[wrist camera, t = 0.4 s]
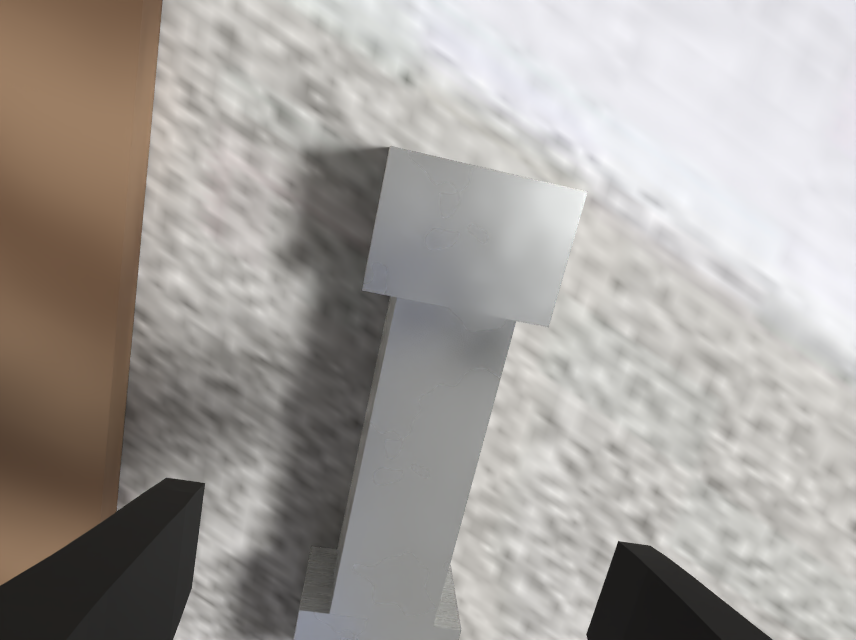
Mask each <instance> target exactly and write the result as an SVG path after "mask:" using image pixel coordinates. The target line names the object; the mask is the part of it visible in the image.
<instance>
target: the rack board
mask: <svg viewBox="0 0 856 640" xmlns="http://www.w3.org/2000/svg"><path fill="white" fill-rule="evenodd" d="M161 11H162V0H0V585H2V584H4V583H5V582H7V581H9V580H10V579H12V578H14V577H15V576H17V575H19V574H20V573H22V572H24V571H25V570H27V569H29V568H30V567H32V566H34V565H35V564H37V563H39V562H40V561H42V560H44V559H45V558H47V557H49V556H50V555H52V554H54V553H55V552H57V551H58V550H60V549H61V548H63V547H64V546H66V545H68V544H69V543H71V542H72V541H74V540H75V539H77V538H78V537H80V536H81V535H83V534H84V533H86V532H87V531H89V530H90V529H92V528H93V527H95V526H96V525H98V524H99V523H101V522H102V521H104V520H105V519H107V518H108V517H110V516H111V515H113V514H114V513H115V512H116V510H117V499H118V488H119V476H120V465H121V454H122V443H123V432H124V421H125V410H126V399H127V388H128V377H129V366H130V355H131V343H132V332H133V321H134V310H135V299H136V288H137V277H138V266H139V255H140V244H141V233H142V221H143V210H144V199H145V188H146V177H147V166H148V155H149V144H150V133H151V122H152V111H153V100H154V88H155V77H156V66H157V55H158V44H159V33H160V22H161Z"/></svg>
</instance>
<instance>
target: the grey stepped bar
mask: <svg viewBox="0 0 856 640" xmlns="http://www.w3.org/2000/svg"><path fill="white" fill-rule="evenodd" d="M586 195H587V191H583V190H578V189H574V188H570V187H565V186H561V185H557V184H552V183H548V182H544V181H539V180H535V179H531V178H526V177H522V176H518V175H513V174H509V173H505V172H500V171H496V170H492V169H488V168H483V167H479V166H475V165H470V164H466V163H462V162H457V161H453V160H449V159H444V158H440V157H436V156H431V155H427V154H423V153H418V152H414V151H410V150H405V149H401V148H397V147H393V146H390V147H389V151H388V157H387V162H386V167H385V172H384V177H383V182H382V187H381V192H380V198H379V203H378V208H377V213H376V218H375V223H374V228H373V233H372V238H371V244H370V249H369V254H368V259H367V264H366V269H365V276H364V282H363V288H362V291H367V292H372V293H377V294H382V295H387V296H390V300H389V304H388V309H387V314H386V319H385V323H384V328H383V333H382V338H381V343H380V347H379V352H378V357H377V362H376V366H375V371H374V376H373V381H372V385H371V390H370V395H369V400H368V405H367V409H366V414H365V419H364V424H363V428H362V433H361V438H360V443H359V447H358V452H357V457H356V462H355V467H354V471H353V476H352V481H351V486H350V490H349V495H348V500H347V505H346V510H345V514H344V519H343V524H342V529H341V533H340V538H339V543H338V548H337V549H331V548H324V547H317V546H311V550H310V556H309V561H308V566H307V571H306V576H305V581H304V586H303V591H302V597H301V602H300V607H299V612H298V617H297V622H296V627H295V632H294V638H293V640H459V636H460V633H461V626H460V619H459V613H458V607H457V601H456V595H455V588H454V582H453V576H452V570H451V565H450V562H451V559H452V555H453V551H454V548H455V544H456V540H457V537H458V533H459V529H460V526H461V522H462V518H463V515H464V511H465V507H466V504H467V500H468V496H469V493H470V489H471V485H472V482H473V478H474V474H475V470H476V467H477V463H478V459H479V456H480V452H481V448H482V445H483V441H484V437H485V434H486V430H487V426H488V423H489V419H490V415H491V412H492V408H493V404H494V401H495V397H496V393H497V390H498V386H499V382H500V378H501V375H502V371H503V367H504V364H505V360H506V356H507V353H508V349H509V345H510V342H511V338H512V334H513V331H514V327H515V323H516V321H519V322H524V323H529V324H534V325H539V326H544V327H549V324H550V320H551V317H552V314H553V310H554V307H555V303H556V300H557V296H558V293H559V289H560V286H561V282H562V279H563V275H564V272H565V268H566V265H567V261H568V258H569V255H570V251H571V248H572V244H573V241H574V237H575V234H576V230H577V227H578V223H579V220H580V216H581V213H582V209H583V206H584V202H585V199H586Z"/></svg>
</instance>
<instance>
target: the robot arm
mask: <svg viewBox="0 0 856 640" xmlns="http://www.w3.org/2000/svg"><path fill="white" fill-rule="evenodd" d="M204 487H205V483H200V482H193V481H186V480H179V479H172V478H165V479H164V480H162V481H161V482H159V483H158V484H156V485H155V486H153V487H152V488H150V489H149V490H147V491H146V492H144V493H143V494H141V495H140V496H139V497H137V498H136V499H134V500H133V501H131V502H130V503H128V504H127V505H126V506H124V507H123V508H121V509H120V510H118V511H117V512H115V513H114V514H113V515H111V516H110V517H108V518H107V519H105V520H104V521H102V522H101V523H99V524H98V525H96V526H95V527H93V528H92V529H90V530H89V531H87V532H86V533H84V534H83V535H81V536H80V537H78V538H77V539H75V540H74V541H72V542H71V543H69V544H68V545H66V546H64V547H63V548H61V549H60V550H58V551H57V552H55V553H54V554H52V555H50V556H49V557H47V558H45V559H44V560H42V561H40V562H39V563H37V564H35V565H34V566H32V567H30V568H29V569H27V570H25V571H24V572H22V573H20V574H19V575H17V576H15V577H14V578H12V579H10V580H9V581H7V582H5V583H4V584H2V585H0V640H173V638H174V635H175V633H176V630H177V627H178V625H179V622H180V619H181V616H182V614H183V611H184V608H185V605H186V603H187V600H188V597H189V594H190V591H191V589H192V582H193V574H194V566H195V558H196V550H197V542H198V534H199V526H200V519H201V511H202V503H203V495H204ZM586 635H587V639H588V640H772V639H771V638H770V637H769V636H767V635H766V634H765V633H763V632H762V631H761V630H760V629H758V628H757V627H756V626H754V625H753V624H752V623H751V622H749V621H748V620H747V619H746V618H744V617H743V616H742V615H740V614H739V613H738V612H737V611H735V610H734V609H733V608H732V607H730V606H729V605H728V604H727V603H725V602H724V601H723V600H722V599H720V598H719V597H718V596H717V595H715V594H714V593H713V592H712V591H710V590H709V589H708V588H707V587H705V586H704V585H703V584H702V583H700V582H699V581H698V580H696V579H695V578H694V577H693V576H691V575H690V574H689V573H687V572H686V571H685V570H684V569H682V568H681V567H680V566H678V565H677V564H676V563H674V562H673V561H672V560H670V559H669V558H668V557H666V556H665V555H663V554H662V553H660V552H659V551H657V550H656V549H654V548H653V547H651V546H648V545H641V544H634V543H627V542H620V541H618V544H617V547H616V550H615V553H614V556H613V558H612V561H611V564H610V567H609V570H608V573H607V576H606V579H605V582H604V585H603V588H602V591H601V593H600V596H599V599H598V602H597V605H596V608H595V611H594V614H593V617H592V620H591V623H590V626H589V628H588V631H587V634H586Z"/></svg>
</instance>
